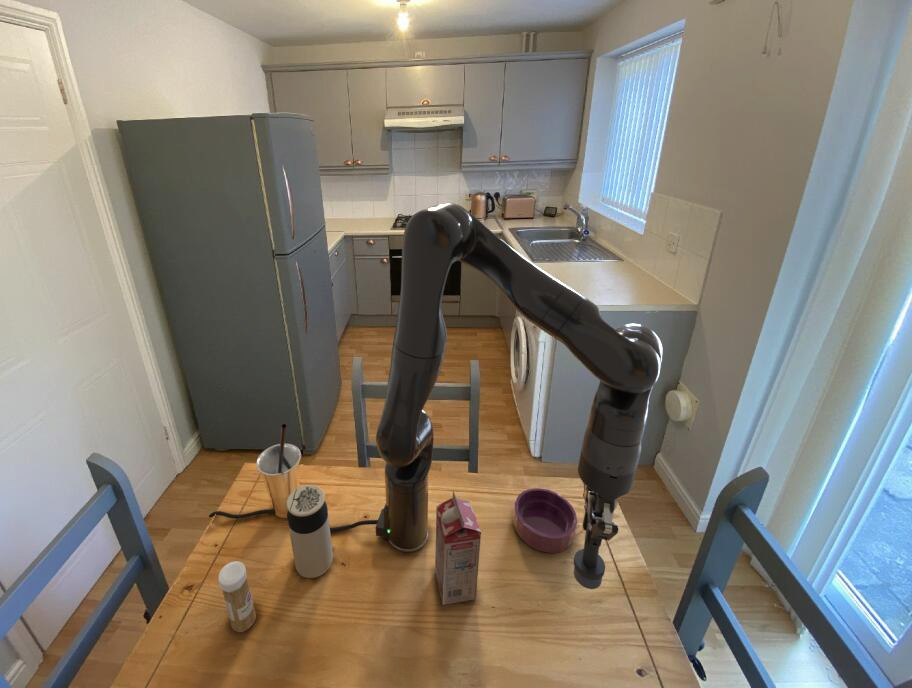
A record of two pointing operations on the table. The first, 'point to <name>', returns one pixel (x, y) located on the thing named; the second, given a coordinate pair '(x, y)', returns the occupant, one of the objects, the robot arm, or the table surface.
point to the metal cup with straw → (280, 472)
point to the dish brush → (588, 566)
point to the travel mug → (309, 531)
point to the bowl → (544, 520)
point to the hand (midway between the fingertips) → (590, 536)
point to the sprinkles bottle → (237, 596)
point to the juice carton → (456, 550)
